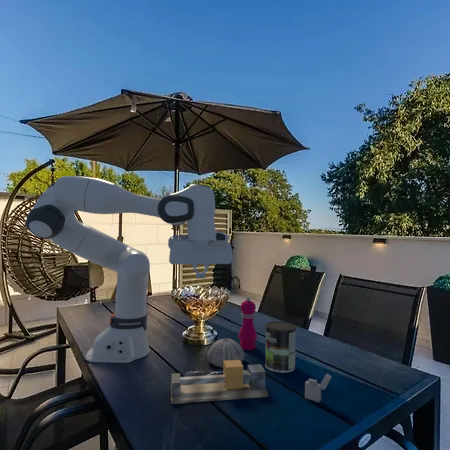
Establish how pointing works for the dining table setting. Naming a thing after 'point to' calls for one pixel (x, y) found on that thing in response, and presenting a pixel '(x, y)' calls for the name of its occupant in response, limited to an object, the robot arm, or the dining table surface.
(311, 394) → the lighter
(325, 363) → the dining table surface
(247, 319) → the pepper mill
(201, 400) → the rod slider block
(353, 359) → the dining table surface
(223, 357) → the sea urchin shell
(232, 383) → the tan wooden block
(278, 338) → the coffee can
